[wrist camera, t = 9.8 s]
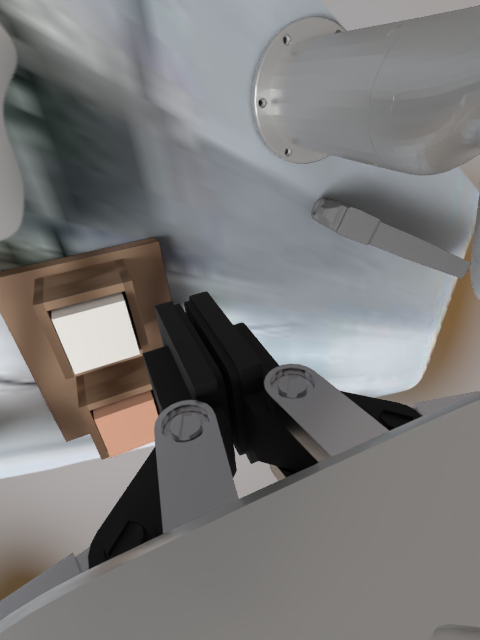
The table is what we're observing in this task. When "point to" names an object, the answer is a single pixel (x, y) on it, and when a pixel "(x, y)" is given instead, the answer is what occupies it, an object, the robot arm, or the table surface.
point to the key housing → (74, 287)
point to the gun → (385, 237)
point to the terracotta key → (127, 423)
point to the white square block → (95, 332)
